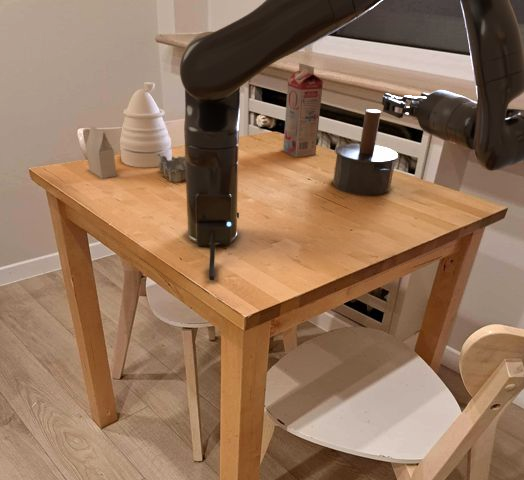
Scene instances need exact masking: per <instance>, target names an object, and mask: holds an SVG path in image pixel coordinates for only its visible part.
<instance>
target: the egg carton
mask: <svg viewBox="0 0 524 480" xmlns="http://www.w3.org/2000/svg"><path fill="white" fill-rule="evenodd" d="M158 156H159V157H160V158H161V161H160V163H159V167H158V168H159V171H160V173H161V174H162V173H163V176H165V177H166V178H168V181H169V182H174V183H178V182H182V181H184V180H185V181H186V167H185V155H184V156H177V157H174V156H172V160H169V161H168V160H167V158H166V156H160V154H158Z"/></svg>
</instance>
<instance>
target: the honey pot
mask: <svg viewBox="0 0 524 480" xmlns="http://www.w3.org/2000/svg"><path fill="white" fill-rule="evenodd" d="M143 87H144V88H139V89H137V90H136V91H134V93H133V94H132V96H131V98H130V100H129V102H128V106H127V107H126V108H124V109H123V111H122V113H123V115H124V119H123V123H122V126H121V127H122V129H121V132H120V133H121V134H120V136H119V146H120V147H119V149H120V159H121V162H122V163H123V164H125V165H127V166H129V167H135V168H160V167H159V163H160V161H161V158H160V157H159V156H158V154H160V156H166V158H167V160H168V161H169V160H172V157H173V153H172V152H173V151H172V139H171V137H170V135H169V131H168V129H167V124H166V123H165V121H164V118H163V117H164V115H165V110H164V109H162V108H160V107H158V105H157V103H156V101H155V100H154V98H153V96H152V95H151V94H150V93H151V92H153V91H154V89H155V87H156V83H155V82H152V81H146V82H143Z"/></svg>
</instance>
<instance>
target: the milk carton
mask: <svg viewBox="0 0 524 480" xmlns="http://www.w3.org/2000/svg"><path fill="white" fill-rule="evenodd" d="M298 63H299V64H298V70H296V72H294V73H292V74H291V75H290V76H289V77H288V78H287V88H286V89H287V91H286V104H285V105H286V106H285V120H284V134H283V149H282V151H283V152H285V153H287V154H289V155H290V156H293V157H295V158H299V157H306V156H308V157H309V156H316V154H317V152H316V151H317V143H318V133H319V125H320V124H319V123H320V114H321V113H320V112H321V105H322V95H323V86H324V85H323V84H324V81H323V80H322V79H321V78H320V77H318V76H317V75H315V74H314V73H315V66H311V65H308V64H304V63H301V62H298Z"/></svg>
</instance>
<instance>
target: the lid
mask: <svg viewBox="0 0 524 480" xmlns="http://www.w3.org/2000/svg"><path fill="white" fill-rule="evenodd" d="M381 114H382V111H381V110H379V109H373V108H369V109H365V113H364V118H363V125H362V131H361V139H360V143H345V144H341V145H338V146H336V148H335V151H334V152H335V154H336V156H337V155H338V156H340V157H342V158H345V159H347V160H351V161H355V162H361V163H372V164H381V163H389V162H393V161H395V162H396V161H397V160H398V157H399V155H398V153H397V152H396V151H395V150H393V149H391V148H388V147H385V146H380V145H377V144H376V142H377V137H378V130H379V125H380V120H381Z"/></svg>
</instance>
